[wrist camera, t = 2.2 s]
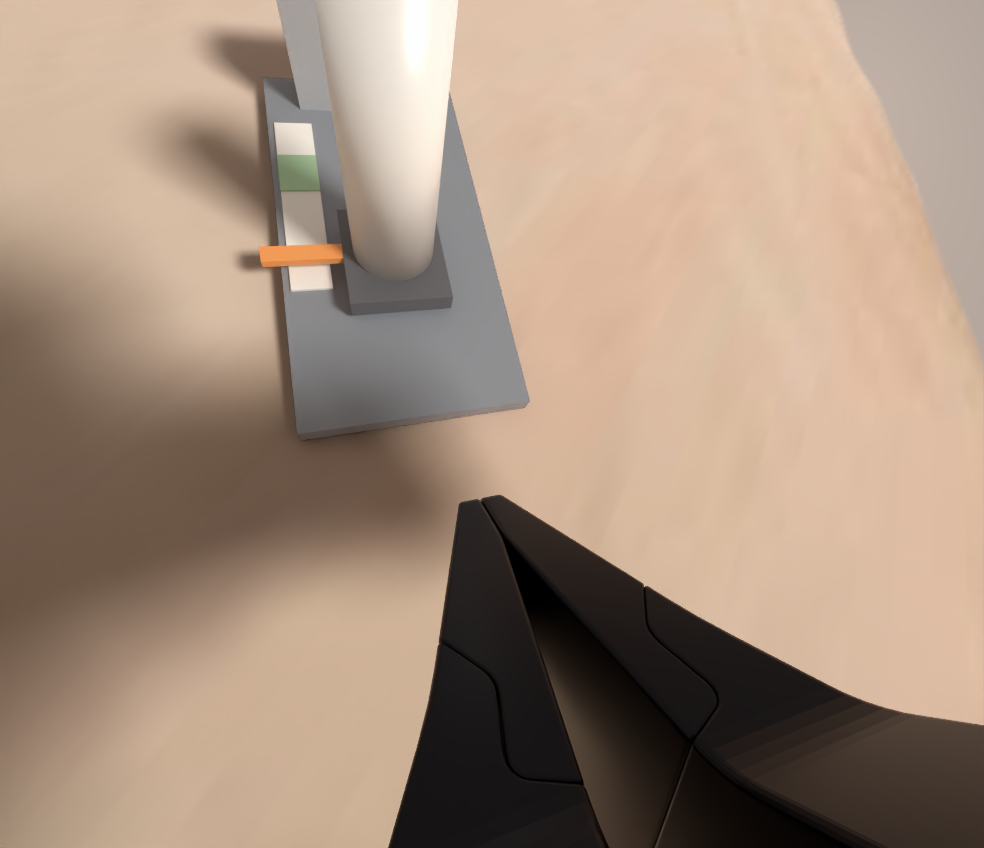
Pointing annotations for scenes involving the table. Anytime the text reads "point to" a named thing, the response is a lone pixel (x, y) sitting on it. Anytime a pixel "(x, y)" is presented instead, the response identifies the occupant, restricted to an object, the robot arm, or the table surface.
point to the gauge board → (324, 291)
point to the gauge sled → (386, 150)
